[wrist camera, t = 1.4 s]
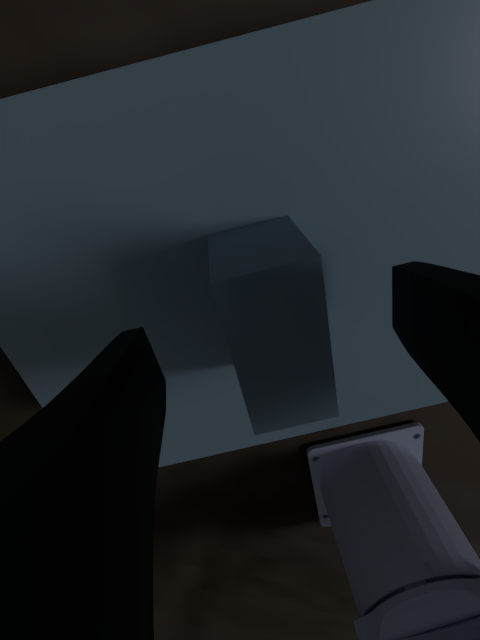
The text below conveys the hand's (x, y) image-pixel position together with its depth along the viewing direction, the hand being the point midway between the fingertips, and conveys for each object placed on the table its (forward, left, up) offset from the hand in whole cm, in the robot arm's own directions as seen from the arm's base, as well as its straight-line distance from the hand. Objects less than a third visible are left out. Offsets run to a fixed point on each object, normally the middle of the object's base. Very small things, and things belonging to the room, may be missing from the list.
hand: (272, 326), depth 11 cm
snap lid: (0, 0, -3) cm, 3 cm away
